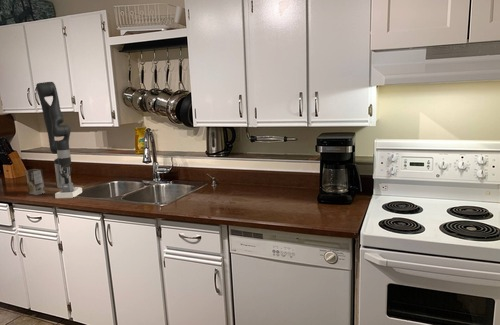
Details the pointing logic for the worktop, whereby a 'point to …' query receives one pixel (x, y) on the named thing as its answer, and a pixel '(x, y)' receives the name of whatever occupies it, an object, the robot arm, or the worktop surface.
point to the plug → (67, 188)
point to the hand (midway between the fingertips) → (67, 183)
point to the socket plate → (69, 195)
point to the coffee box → (35, 181)
